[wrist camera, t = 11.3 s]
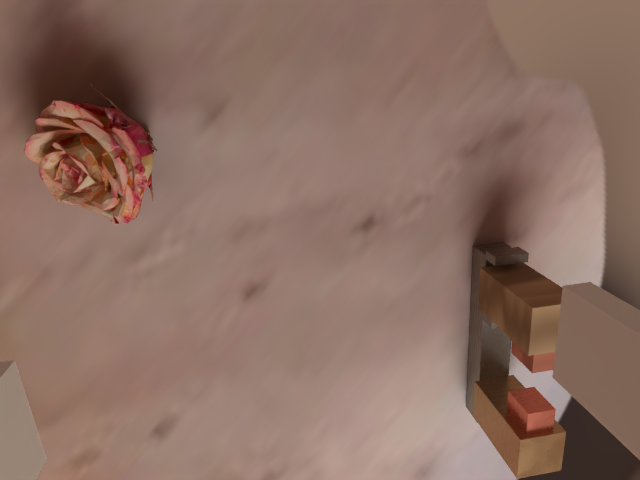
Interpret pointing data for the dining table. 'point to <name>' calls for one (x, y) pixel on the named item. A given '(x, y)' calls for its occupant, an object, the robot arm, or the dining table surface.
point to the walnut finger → (523, 311)
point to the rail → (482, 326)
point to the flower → (93, 157)
